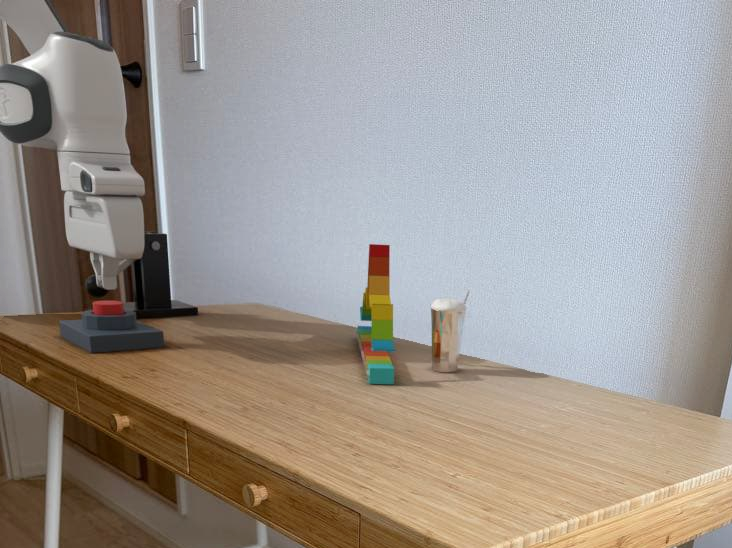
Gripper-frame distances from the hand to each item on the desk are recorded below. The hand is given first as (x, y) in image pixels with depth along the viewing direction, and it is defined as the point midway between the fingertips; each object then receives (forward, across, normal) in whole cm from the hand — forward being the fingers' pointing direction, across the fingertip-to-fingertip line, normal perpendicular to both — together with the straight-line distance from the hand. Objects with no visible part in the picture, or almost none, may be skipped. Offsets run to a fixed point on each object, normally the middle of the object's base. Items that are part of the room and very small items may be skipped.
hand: (107, 288), depth 113 cm
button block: (+7, 0, 0) cm, 7 cm away
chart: (+8, +25, +27) cm, 38 cm away
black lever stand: (+7, -22, +15) cm, 28 cm away
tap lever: (+1, -22, +11) cm, 25 cm away
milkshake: (+8, +35, +32) cm, 48 cm away
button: (+4, 0, 0) cm, 4 cm away
